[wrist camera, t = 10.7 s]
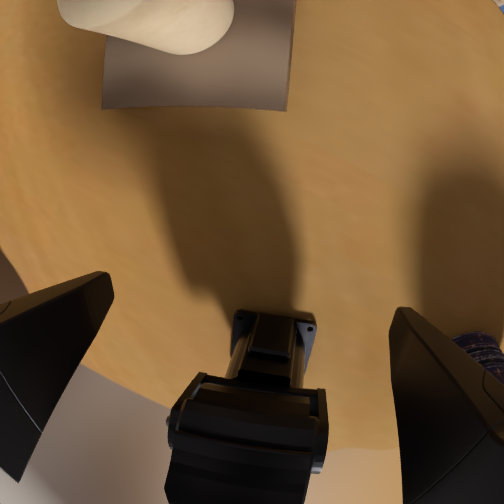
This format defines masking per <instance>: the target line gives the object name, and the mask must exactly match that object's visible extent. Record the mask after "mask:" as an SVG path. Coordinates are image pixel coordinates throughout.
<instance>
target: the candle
mask: <svg viewBox="0 0 504 504" xmlns="http://www.w3.org/2000/svg"><path fill="white" fill-rule="evenodd" d="M57 4H58V9H59V12H60V14H61V16H62V18H63V19H64V20H65V21H66V22H67V23H68V24H69V25H71V26H74V27H77V28H81V29H85V30H90V31H94V32H98V33H102V34H106V35H110V36H114V37H118V38H121V39H125V40H128V41H132V42H135V43H139V44H142V45H145V46H148V47H152V48H155V49H158V50H161V51H164V52H167V53H171V54H177V55H188V54H194V53H198V52H201V51H203V50H205V49H207V48H209V47H211V46H213V45H214V44H215V43H217V42H218V41H219V40H220V39H221V38H222V37H223V36H224V35H225V33H226V32H227V31H228V29H229V27H230V25H231V23H232V21H233V17H234V3H233V0H57Z"/></svg>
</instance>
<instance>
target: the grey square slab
mask: <svg viewBox="0 0 504 504" xmlns="http://www.w3.org/2000/svg"><path fill="white" fill-rule="evenodd" d="M233 3H234V17H233V21H232V23H231V25H230V27H229V29H228V31H227V32H226V33H225V35H224V36H223V37H222V38H221V39H220V40H219V41H218V42H217V43H215V44H214V45H213V46H211V47H209V48H207V49H205V50H203V51H201V52H198V53H194V54H188V55H177V54H171V53H167V52H164V51H161V50H158V49H155V48H152V47H148V46H145V45H142V44H139V43H135V42H132V41H128V40H125V39H121V38H118V37H114V36H110V35H107V40H106V49H105V59H104V71H103V87H102V109H117V108H132V107H156V106H209V107H233V108H249V109H262V110H273V111H283V112H287V101H288V90H289V79H290V68H291V57H292V45H293V33H294V20H295V7H296V0H233Z"/></svg>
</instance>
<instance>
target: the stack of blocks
mask: <svg viewBox="0 0 504 504" xmlns="http://www.w3.org/2000/svg"><path fill="white" fill-rule="evenodd" d="M493 1H494V2H495V3H496V4H497V6H498V7H499V8H500V9H501V11H502V12H503V13H504V0H493Z"/></svg>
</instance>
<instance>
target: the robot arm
mask: <svg viewBox="0 0 504 504" xmlns="http://www.w3.org/2000/svg"><path fill="white" fill-rule="evenodd" d="M113 300H114V291H113V286H112V281H111V277H110V275H109V273H107V272H102V271H96V272H93V273H90V274H87V275H84V276H81V277H78V278H75V279H72V280H69V281H66V282H63V283H60V284H57V285H54V286H51V287H48V288H45V289H42V290H39V291H37V292H34V293H31V294H28V295H25V296H22V297H20V298H17V299H14V300H12V301H8V302H5V303H2V304H0V469H1V470H2V471H3V472H5V473H6V474H7V475H8V476H10V477H11V478H12V479H13V480H15V481H16V482H17V483H19V481H20V480H21V478H22V475H23V473H24V471H25V468H26V466H27V464H28V462H29V460H30V458H31V455H32V453H33V451H34V449H35V447H36V445H37V443H38V441H39V438H40V437H41V434H42V432H43V430H44V428H45V426H46V424H47V422H48V420H49V418H50V416H51V414H52V412H53V410H54V409H55V407H56V405H57V403H58V401H59V399H60V397H61V395H62V394H63V392H64V390H65V388H66V386H67V385H68V383H69V381H70V379H71V378H72V376H73V374H74V372H75V370H76V369H77V367H78V365H79V364H80V362H81V360H82V358H83V357H84V355H85V353H86V352H87V350H88V348H89V347H90V345H91V343H92V342H93V340H94V338H95V337H96V335H97V333H98V331H99V329H100V327H101V325H102V323H103V321H104V319H105V317H106V315H107V313H108V311H109V309H110V307H111V305H112V303H113ZM238 315H241V316H242V317H239V316H238ZM308 327H313V328H308ZM316 330H317V325H316V323H315V322H313V321H308V320H301V319H294V318H289V317H283V316H277V315H270V314H264V313H257V312H251V311H245V310H237V311H236V312H235V315H234V323H233V340H232V358H231V361H230V364H229V367H228V370H227V373H226V376H225V378H222V377H217V376H211V375H207V373H203V372H199V373H198V374H197V375H196V377H195V378H194V379H193V380H192V381H191V383H190V384H189V386H188V387H187V388H186V390H185V391H184V392H183V394H182V395H181V396H180V398H179V399H178V400H177V402H176V403H175V404H174V406H173V407H172V409H171V413H170V415H169V416H168V417H167V420H166V425H167V427H168V444H169V447H170V449H172V455H171V461H170V466H169V470H168V474H167V478H166V482H165V486H164V490H165V493H166V496H167V500H168V502H169V504H304V502H305V497H306V493H307V488H308V483H309V479H310V474H319V473H320V471H321V469H322V467H323V464H324V460H325V456H326V450H327V444H328V434H329V422H328V411H327V401H326V391H325V389H320V388H317V390H315V389H304V388H303V379H304V374H305V370H306V367H307V363H308V360H309V356H310V353H311V349H312V345H313V342H314V338H315V334H316ZM389 349H390V368H391V382H392V390H393V397H394V404H395V411H396V419H397V428H398V437H399V448H400V458H401V474H402V494H403V504H504V385H503V384H502V383H501V382H500V381H499V380H498V379H496V378H495V377H494V376H493V375H492V374H491V373H489V372H488V371H487V370H484V367H482V366H481V365H480V364H479V363H478V362H477V361H476V360H474V359H473V358H472V357H471V356H470V355H468V354H467V353H466V352H465V351H464V350H462V349H461V348H460V347H459V346H458V345H457V344H455V343H454V342H453V341H452V340H450V339H449V338H448V337H447V336H446V335H444V334H443V333H442V332H441V331H439V330H438V329H437V328H436V327H435V326H433V325H432V324H431V323H430V322H428V321H427V320H426V319H425V318H423V317H422V316H421V315H420V314H418V313H417V312H416V311H415V310H413V309H412V308H410V307H398V308H397V309H396V311H395V314H394V317H393V320H392V323H391V326H390V330H389Z"/></svg>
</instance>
